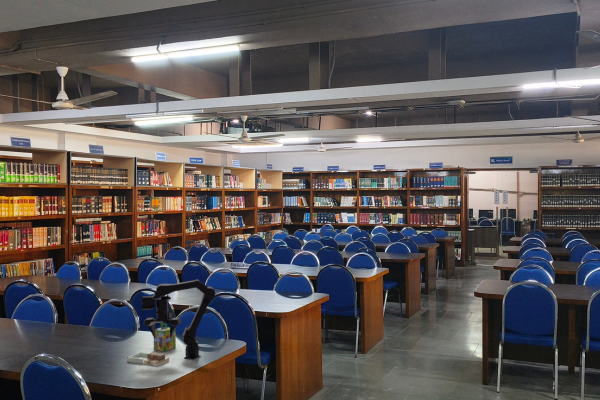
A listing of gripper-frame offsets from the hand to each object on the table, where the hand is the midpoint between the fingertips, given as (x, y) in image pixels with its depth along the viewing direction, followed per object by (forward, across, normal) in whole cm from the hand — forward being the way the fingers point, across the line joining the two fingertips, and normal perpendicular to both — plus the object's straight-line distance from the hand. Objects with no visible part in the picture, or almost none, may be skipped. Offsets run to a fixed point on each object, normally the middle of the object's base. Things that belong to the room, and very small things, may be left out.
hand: (162, 337), depth 277 cm
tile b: (+10, +4, +4) cm, 11 cm away
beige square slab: (+12, +2, +5) cm, 13 cm away
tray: (+12, +12, +1) cm, 17 cm away
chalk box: (+12, +8, -22) cm, 26 cm away
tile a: (+10, 0, +5) cm, 11 cm away
